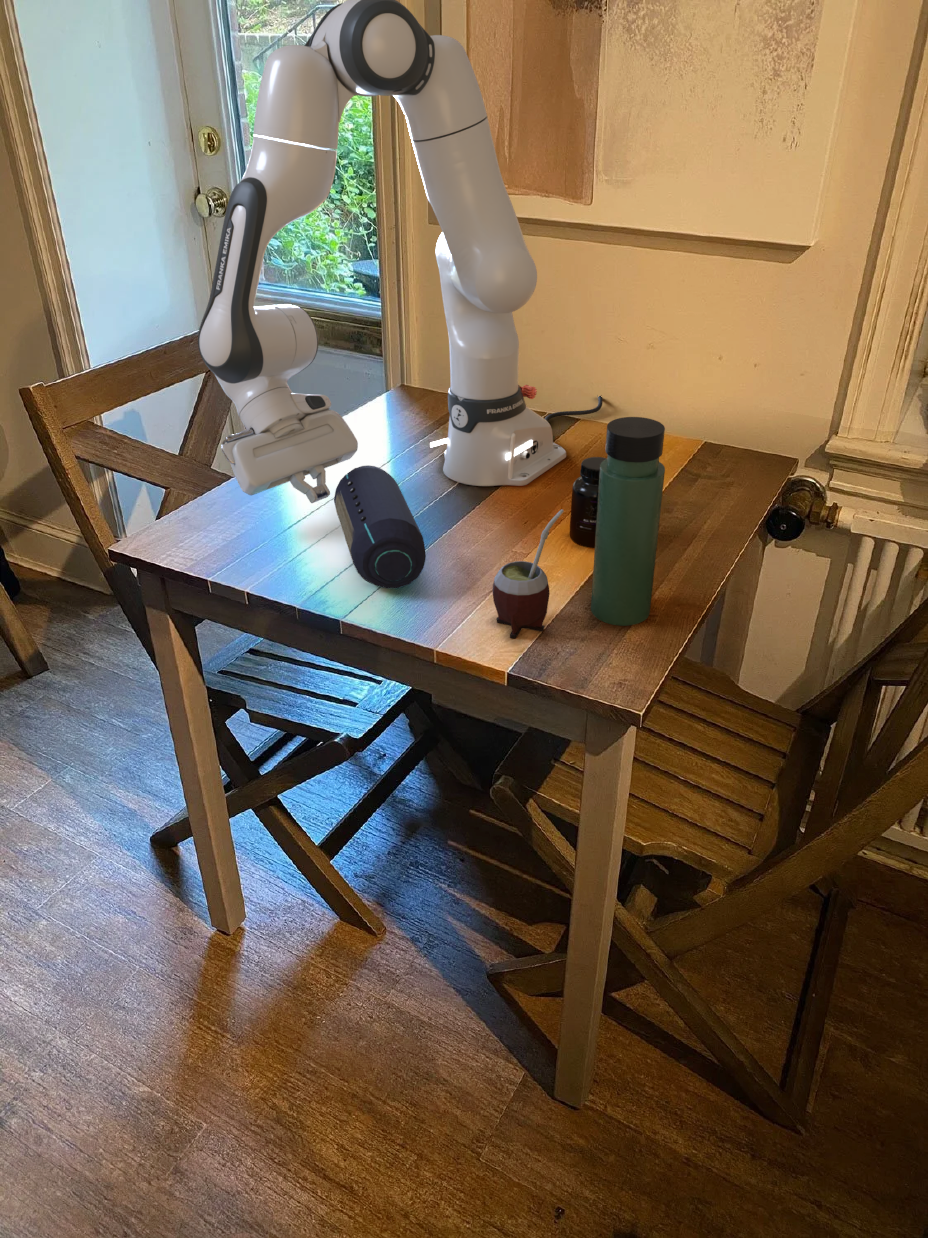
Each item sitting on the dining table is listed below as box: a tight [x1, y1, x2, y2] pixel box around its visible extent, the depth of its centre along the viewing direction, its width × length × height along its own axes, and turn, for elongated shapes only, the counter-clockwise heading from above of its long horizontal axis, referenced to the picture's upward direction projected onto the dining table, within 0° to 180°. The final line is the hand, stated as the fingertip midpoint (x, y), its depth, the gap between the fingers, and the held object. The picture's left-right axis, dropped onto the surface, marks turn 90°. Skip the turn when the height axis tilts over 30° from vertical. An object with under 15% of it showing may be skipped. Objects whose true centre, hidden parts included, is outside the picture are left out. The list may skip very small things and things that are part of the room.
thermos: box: [590, 416, 666, 627], centre depth 115 cm, size 8×8×25 cm
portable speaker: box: [333, 465, 427, 589], centre depth 133 cm, size 25×10×10 cm, turn 14°
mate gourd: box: [491, 508, 565, 640], centre depth 115 cm, size 8×8×15 cm
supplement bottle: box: [569, 456, 607, 549], centre depth 135 cm, size 7×7×12 cm
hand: (321, 498), depth 141 cm, fingers closed
